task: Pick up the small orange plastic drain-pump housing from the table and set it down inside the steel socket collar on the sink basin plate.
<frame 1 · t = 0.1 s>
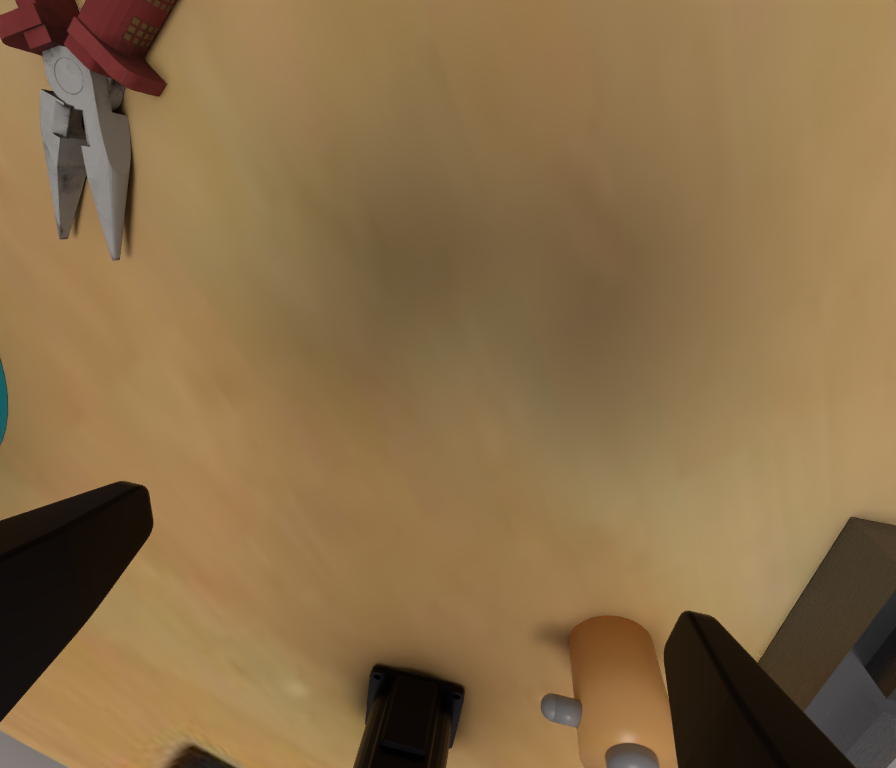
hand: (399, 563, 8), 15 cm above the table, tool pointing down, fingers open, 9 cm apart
pump housing: (610, 644, 27), on the table
sink basin plate: (895, 685, 25), on the table
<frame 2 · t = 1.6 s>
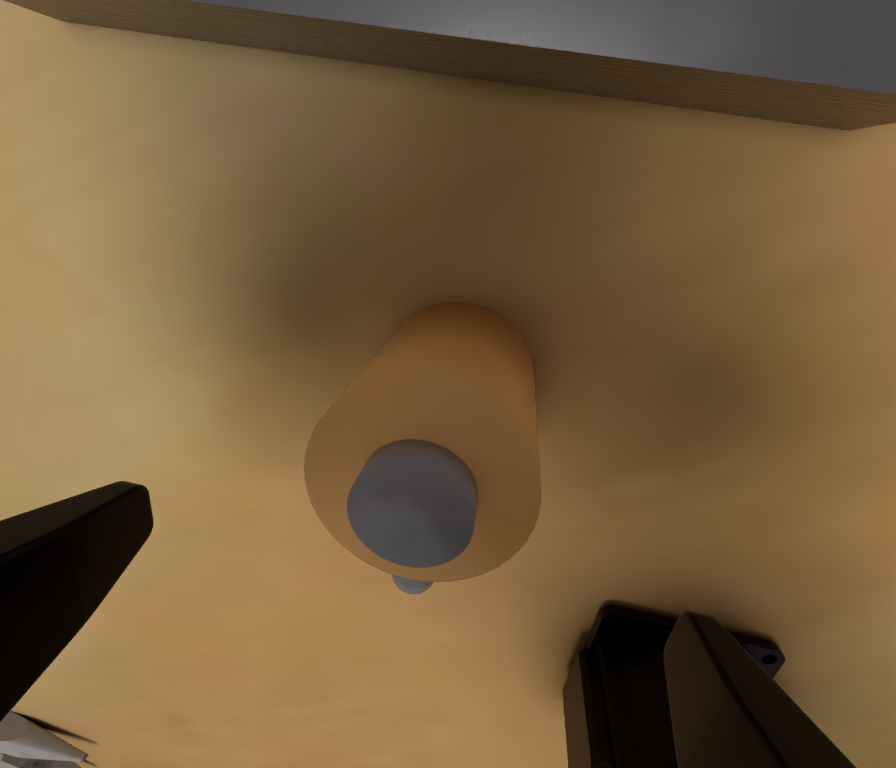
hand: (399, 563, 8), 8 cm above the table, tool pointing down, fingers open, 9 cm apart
pump housing: (457, 377, 15), on the table
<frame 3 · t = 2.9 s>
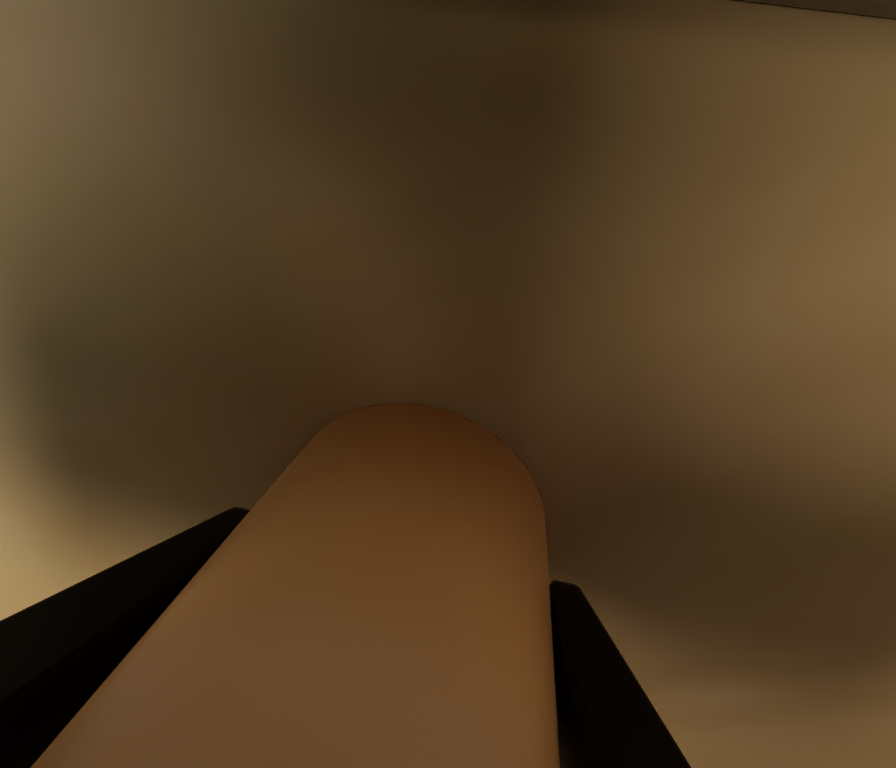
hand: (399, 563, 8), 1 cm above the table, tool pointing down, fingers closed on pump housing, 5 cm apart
pump housing: (413, 520, 8), on the table, touching gripper
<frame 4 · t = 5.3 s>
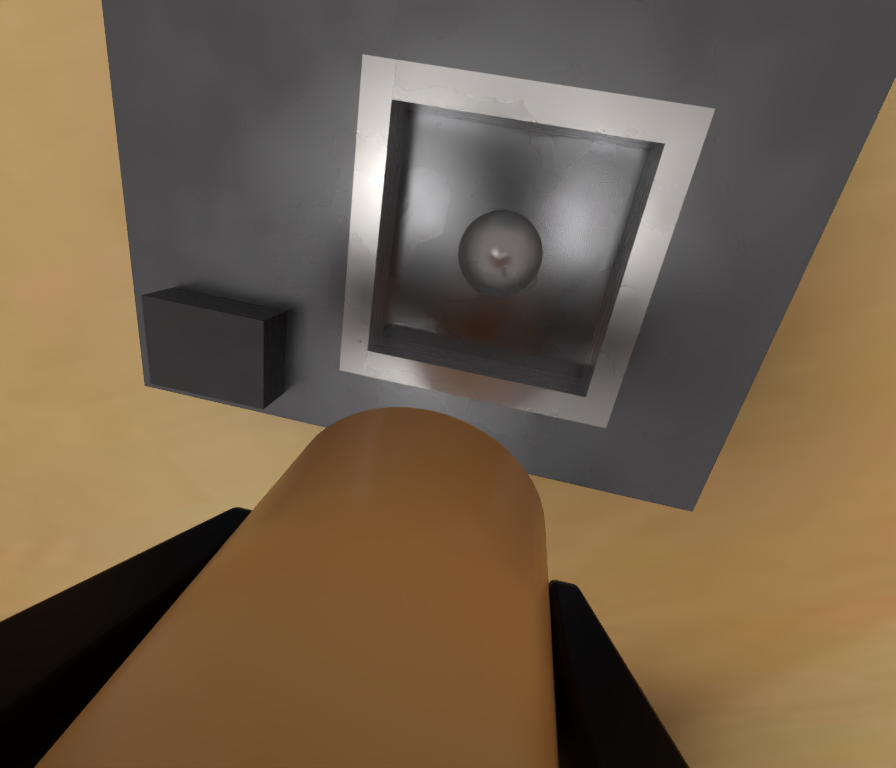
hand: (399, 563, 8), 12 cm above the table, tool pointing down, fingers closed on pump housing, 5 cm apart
pump housing: (412, 523, 8), point 11 cm above the table, touching gripper
sink basin plate: (451, 233, 17), on the table
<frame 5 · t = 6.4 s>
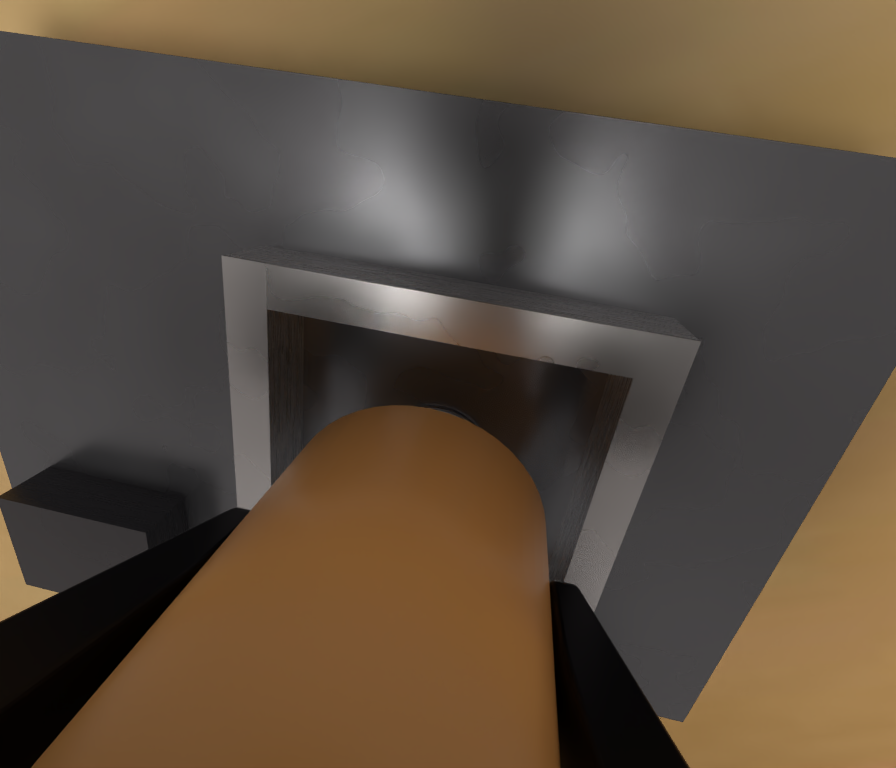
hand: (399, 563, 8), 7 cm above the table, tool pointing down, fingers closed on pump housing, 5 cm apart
pump housing: (413, 522, 8), point 6 cm above the table, touching gripper
sink basin plate: (391, 378, 14), on the table
when the fingers open (6 cm above the table, at t = 7.2 s): pump housing drops 2 cm, resting on sink basin plate.
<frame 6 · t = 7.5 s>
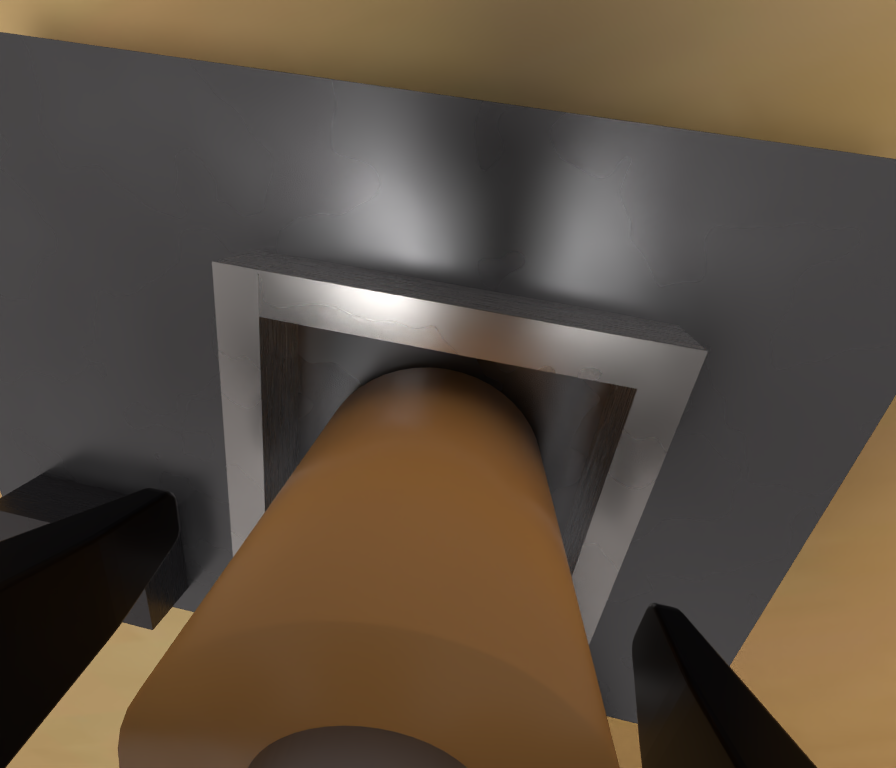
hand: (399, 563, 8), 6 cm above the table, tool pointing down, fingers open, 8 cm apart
pump housing: (430, 471, 10), point 4 cm above the table, tilted 6°, touching sink basin plate
sink basin plate: (389, 384, 14), on the table
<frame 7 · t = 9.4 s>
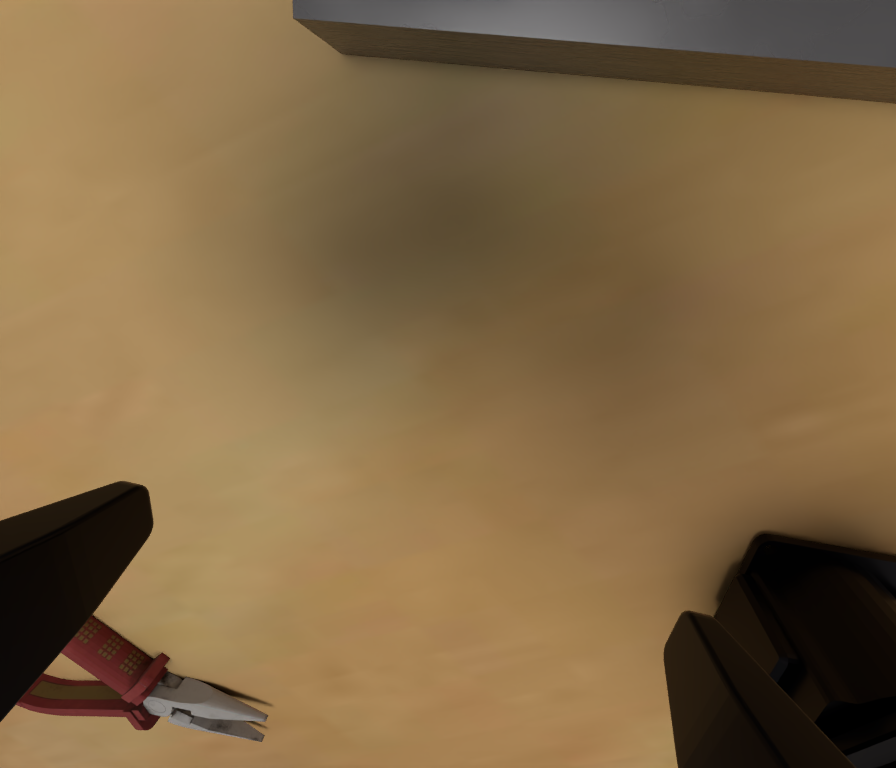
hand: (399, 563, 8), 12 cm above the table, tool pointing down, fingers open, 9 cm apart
pliers: (125, 665, 33), on the table
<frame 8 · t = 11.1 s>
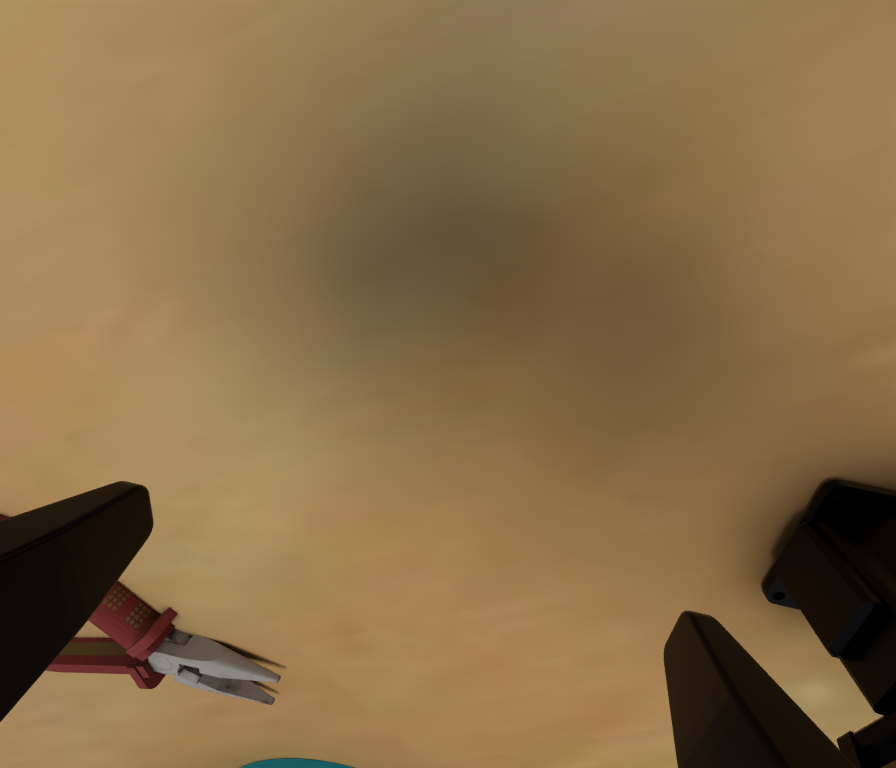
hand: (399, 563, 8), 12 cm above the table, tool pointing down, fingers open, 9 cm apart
pliers: (129, 622, 31), on the table
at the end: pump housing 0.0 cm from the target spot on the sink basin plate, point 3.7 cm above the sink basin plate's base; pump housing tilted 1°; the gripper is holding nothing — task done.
